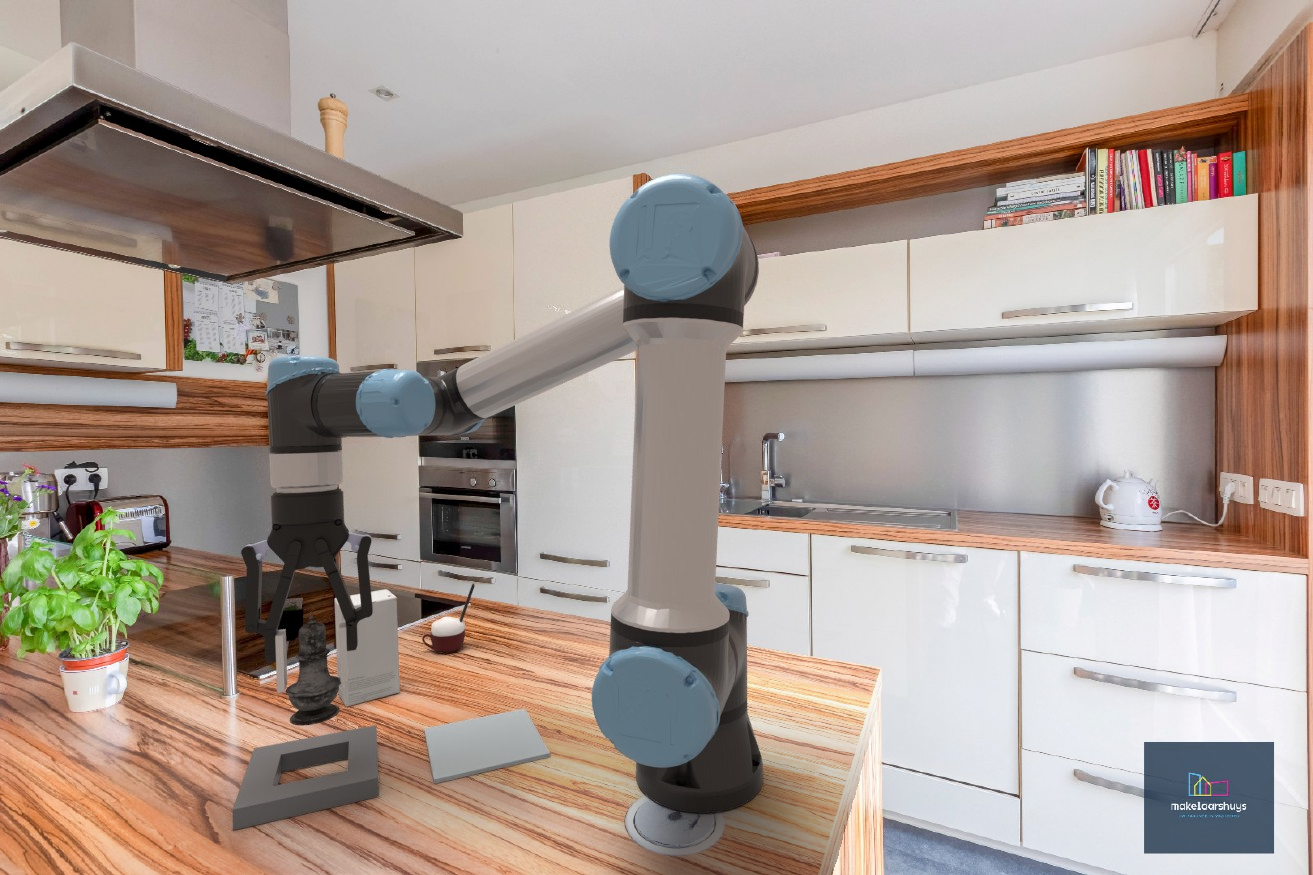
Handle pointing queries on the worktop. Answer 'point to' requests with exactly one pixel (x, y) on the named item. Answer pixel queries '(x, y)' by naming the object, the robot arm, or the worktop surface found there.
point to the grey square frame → (276, 802)
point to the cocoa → (448, 631)
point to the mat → (483, 745)
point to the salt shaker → (313, 678)
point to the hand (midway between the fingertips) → (314, 682)
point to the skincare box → (371, 651)
